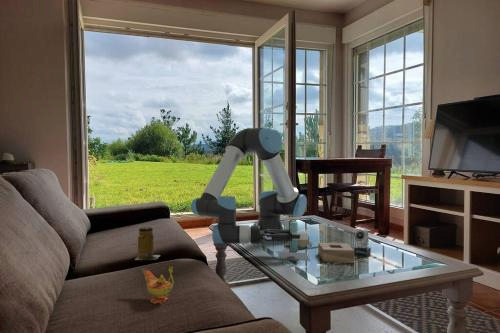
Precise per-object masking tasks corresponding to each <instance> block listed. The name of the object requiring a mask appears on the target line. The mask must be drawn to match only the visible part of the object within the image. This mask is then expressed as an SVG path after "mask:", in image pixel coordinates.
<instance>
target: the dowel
mask: <svg viewBox="0 0 500 333" xmlns="http://www.w3.org/2000/svg"><path fill="white" fill-rule="evenodd" d="M289 229H290V233H298V229H299V221H290V222H289ZM298 250H299V247H298V240H292V242H289V252H292V253H298Z"/></svg>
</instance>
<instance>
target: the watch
mask: <svg viewBox="0 0 500 333" xmlns="http://www.w3.org/2000/svg"><path fill="white" fill-rule="evenodd" d="M353 237H354V240H355V243H356V246H354V247H353V250H354V256H360V257H366V258H367V257H369V256H371V255H372V254H371V253H372V252H371V251H372V250H371V249H372V248H371V247H369V246H368V244H369V230H368V229H367V228H359V229H357V231H356V232H355V233H354V236H353Z"/></svg>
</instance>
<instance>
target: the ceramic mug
mask: <svg viewBox="0 0 500 333" xmlns="http://www.w3.org/2000/svg"><path fill="white" fill-rule="evenodd" d="M298 231H301V230H300V229H299V228H298ZM288 242H289V243H290V241H288ZM307 246H310V247H312V246H313V242H312V241H310V236H309V235H308V240H298V248H303V249H304V248H306V247H307Z"/></svg>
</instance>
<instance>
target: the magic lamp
mask: <svg viewBox="0 0 500 333" xmlns="http://www.w3.org/2000/svg"><path fill="white" fill-rule="evenodd" d="M173 269H174V267H173V266H169V268H168V272H169V279H168V280H166V277H165V276H164V275H163V274H160V276H159V278H158V277H156V276H155V275H154V274H153V273H152V272H151V271H150V270H149V269H148V268H146V267H142V268H141V271H142V272H143V274H144V275H143V276H144V278H145V283H146V289H147V291H148V292H149V294H151V295H153V296H154V297H152V298H151V299H150V303H152V304H156V303H160V304H162V303H161V302H165V301H166V300H167V299H168V298H169V295H170V294H169V293H170V292H171V291H172V289H173V286H174V283H175V282H174V278H173V274H172V273H174V272H173ZM170 281H172V282H170ZM167 297H168V298H167ZM165 303H166V302H165Z"/></svg>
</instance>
